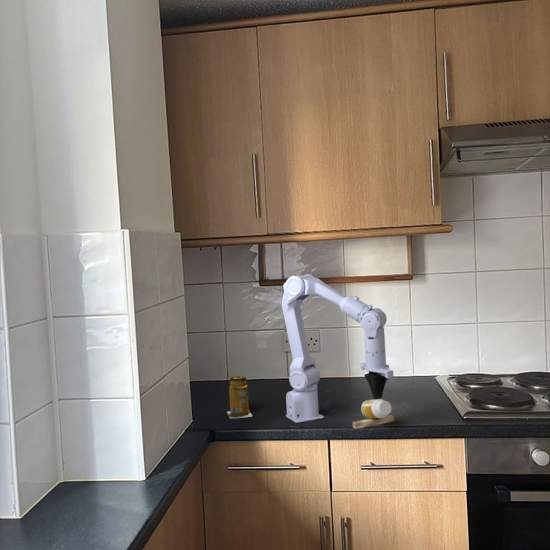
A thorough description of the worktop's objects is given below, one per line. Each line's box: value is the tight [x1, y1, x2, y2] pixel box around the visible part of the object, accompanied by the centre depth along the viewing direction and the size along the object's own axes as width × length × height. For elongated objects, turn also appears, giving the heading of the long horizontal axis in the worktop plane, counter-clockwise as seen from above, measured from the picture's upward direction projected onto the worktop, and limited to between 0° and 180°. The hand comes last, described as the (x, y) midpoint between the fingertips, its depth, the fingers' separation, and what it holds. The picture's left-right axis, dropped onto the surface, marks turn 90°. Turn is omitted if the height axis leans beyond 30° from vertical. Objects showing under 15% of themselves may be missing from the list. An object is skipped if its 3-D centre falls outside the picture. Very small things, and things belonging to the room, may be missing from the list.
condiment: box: [226, 375, 253, 419], centre depth 184 cm, size 7×8×12 cm
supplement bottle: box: [360, 398, 392, 419], centre depth 165 cm, size 5×5×10 cm
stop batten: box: [352, 414, 395, 430], centre depth 166 cm, size 13×2×2 cm, turn 112°
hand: (377, 398), depth 165 cm, fingers closed
